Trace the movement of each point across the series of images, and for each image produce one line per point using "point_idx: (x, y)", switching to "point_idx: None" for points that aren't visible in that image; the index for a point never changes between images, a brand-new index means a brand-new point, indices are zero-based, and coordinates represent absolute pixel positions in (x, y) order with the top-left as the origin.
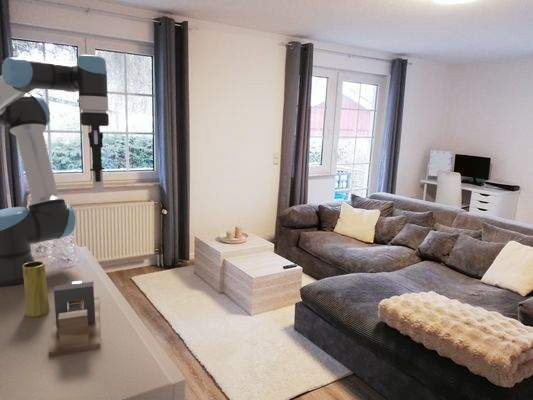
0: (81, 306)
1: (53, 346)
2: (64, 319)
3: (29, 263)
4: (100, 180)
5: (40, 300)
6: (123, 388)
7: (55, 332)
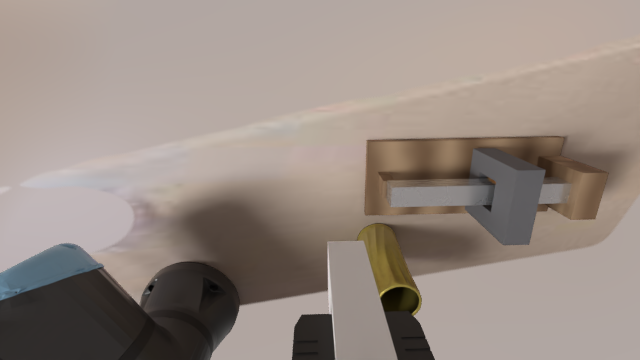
0: None
1: None
2: (596, 208)
3: None
4: (416, 320)
5: (399, 248)
6: None
7: None
